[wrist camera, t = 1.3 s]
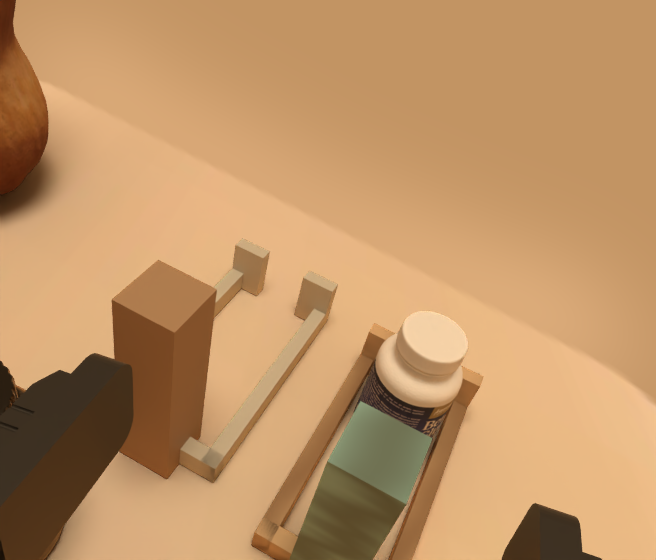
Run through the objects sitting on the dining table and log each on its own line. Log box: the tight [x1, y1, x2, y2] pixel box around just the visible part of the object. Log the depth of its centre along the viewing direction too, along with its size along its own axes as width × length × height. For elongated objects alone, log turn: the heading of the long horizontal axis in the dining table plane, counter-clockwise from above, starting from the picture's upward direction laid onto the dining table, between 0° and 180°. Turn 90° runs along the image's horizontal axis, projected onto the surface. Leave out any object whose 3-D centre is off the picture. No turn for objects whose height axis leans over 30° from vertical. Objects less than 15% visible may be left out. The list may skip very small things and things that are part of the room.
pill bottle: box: [353, 311, 468, 438], centre depth 38 cm, size 5×5×10 cm
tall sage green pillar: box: [251, 323, 483, 560], centre depth 34 cm, size 8×17×13 cm, turn 155°
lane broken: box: [112, 238, 338, 483], centre depth 38 cm, size 8×17×13 cm, turn 155°
